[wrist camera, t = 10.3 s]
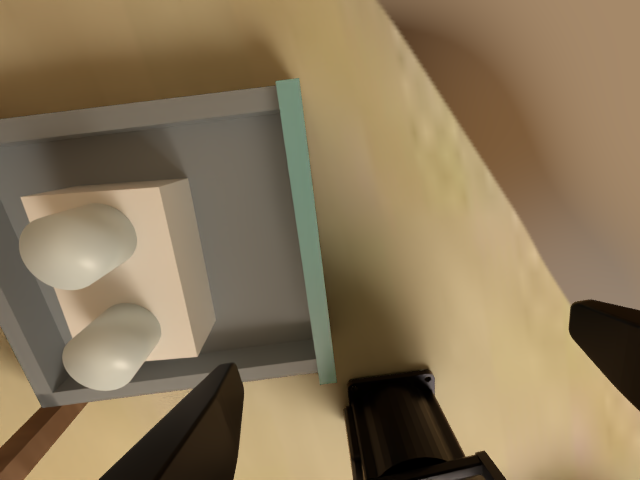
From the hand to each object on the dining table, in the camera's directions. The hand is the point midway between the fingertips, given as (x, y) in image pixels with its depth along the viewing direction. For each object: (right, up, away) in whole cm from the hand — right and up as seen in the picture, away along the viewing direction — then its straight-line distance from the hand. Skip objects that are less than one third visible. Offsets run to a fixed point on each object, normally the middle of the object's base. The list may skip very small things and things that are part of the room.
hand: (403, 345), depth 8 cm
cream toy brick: (-12, +2, +10) cm, 16 cm away
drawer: (-11, +2, +11) cm, 16 cm away
